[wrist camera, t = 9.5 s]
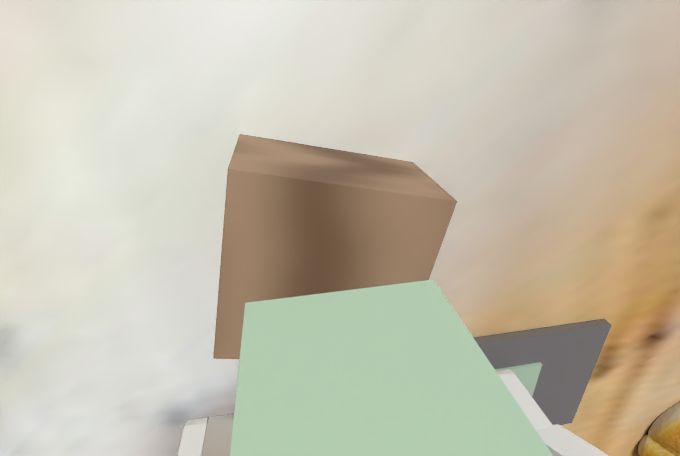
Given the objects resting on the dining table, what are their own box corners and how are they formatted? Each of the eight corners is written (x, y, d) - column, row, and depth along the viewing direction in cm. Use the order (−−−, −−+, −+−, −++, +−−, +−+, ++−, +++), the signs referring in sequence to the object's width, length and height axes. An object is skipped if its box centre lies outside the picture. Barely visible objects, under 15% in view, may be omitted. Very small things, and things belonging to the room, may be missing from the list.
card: (604, 318, 25) (613, 327, 24) (566, 416, 29) (573, 425, 29) (403, 347, 23) (407, 357, 22) (396, 446, 28) (400, 457, 27)
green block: (433, 279, 10) (561, 468, 6) (420, 403, 12) (504, 606, 8) (244, 302, 9) (221, 538, 5) (268, 429, 12) (266, 666, 7)
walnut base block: (411, 161, 18) (457, 201, 13) (371, 295, 21) (398, 363, 17) (240, 133, 16) (227, 168, 11) (226, 285, 19) (213, 358, 15)
